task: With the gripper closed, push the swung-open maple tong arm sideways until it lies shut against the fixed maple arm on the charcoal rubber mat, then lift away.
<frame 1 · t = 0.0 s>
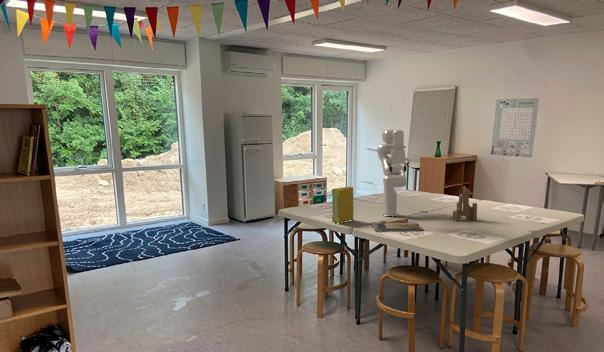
hand: (397, 172, 289), 37 cm above the table, tool pointing down, fingers open, 9 cm apart
tongs fixed: (380, 229, 274), resting on mat
book: (343, 222, 299), on the table
mat: (395, 227, 280), on the table
wooden toy: (464, 220, 297), on the table
tong arm: (392, 223, 280), point 3 cm above the table, hinge at 28.0°
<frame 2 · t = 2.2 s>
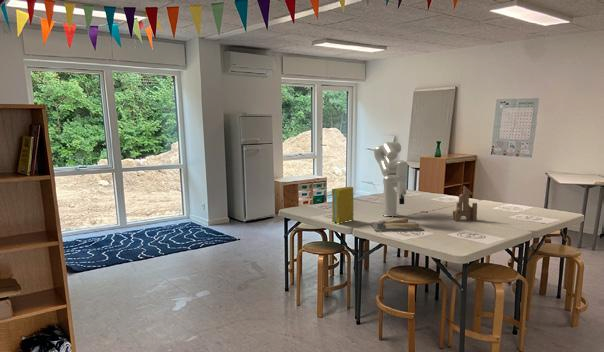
hand: (401, 204, 292), 14 cm above the table, tool pointing down, fingers closed
nothing on the table moved.
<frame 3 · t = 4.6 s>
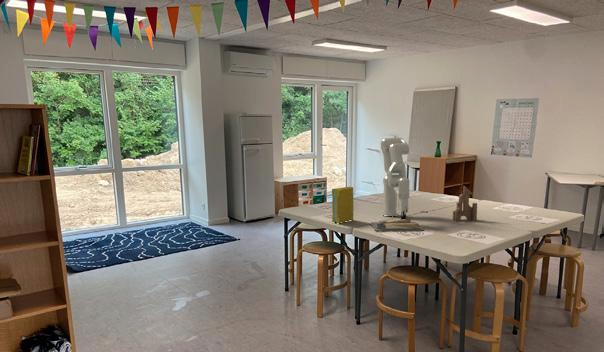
hand: (403, 221, 288), 2 cm above the table, tool pointing down, fingers closed
tong arm: (394, 223, 279), point 3 cm above the table, hinge at 22.4°
everything else where it was.
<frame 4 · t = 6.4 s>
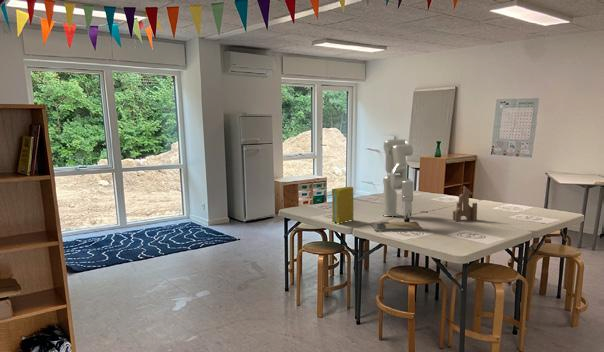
hand: (406, 224, 279), 2 cm above the table, tool pointing down, fingers closed
tong arm: (397, 224, 274), point 3 cm above the table, hinge at -0.5°, touching gripper
everything else where it was.
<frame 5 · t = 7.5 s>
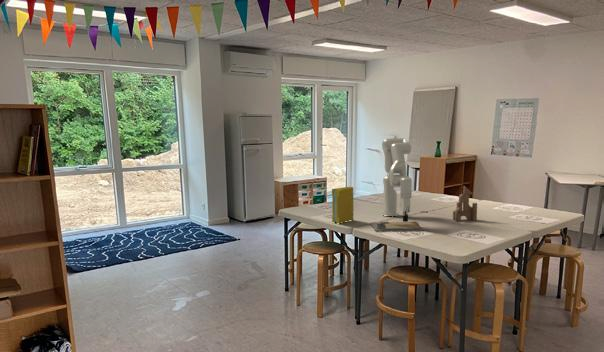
hand: (405, 221, 282), 4 cm above the table, tool pointing down, fingers closed
tong arm: (397, 224, 274), point 3 cm above the table, hinge at -0.6°
everything else where it was.
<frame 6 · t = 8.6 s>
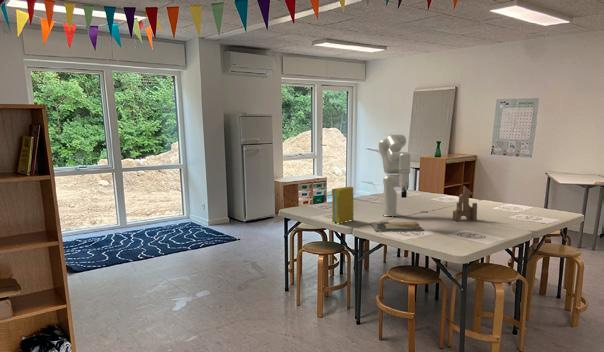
hand: (403, 197, 282), 20 cm above the table, tool pointing down, fingers closed
nothing on the table moved.
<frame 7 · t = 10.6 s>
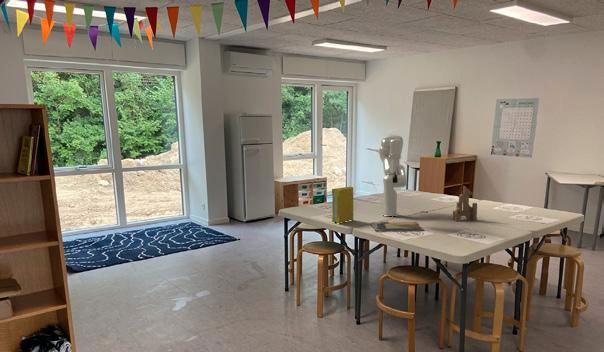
hand: (395, 182, 290), 29 cm above the table, tool pointing down, fingers closed
nothing on the table moved.
at the end: tong arm at -1° (first picture: +28°); book moved 0.2 cm from its start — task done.
